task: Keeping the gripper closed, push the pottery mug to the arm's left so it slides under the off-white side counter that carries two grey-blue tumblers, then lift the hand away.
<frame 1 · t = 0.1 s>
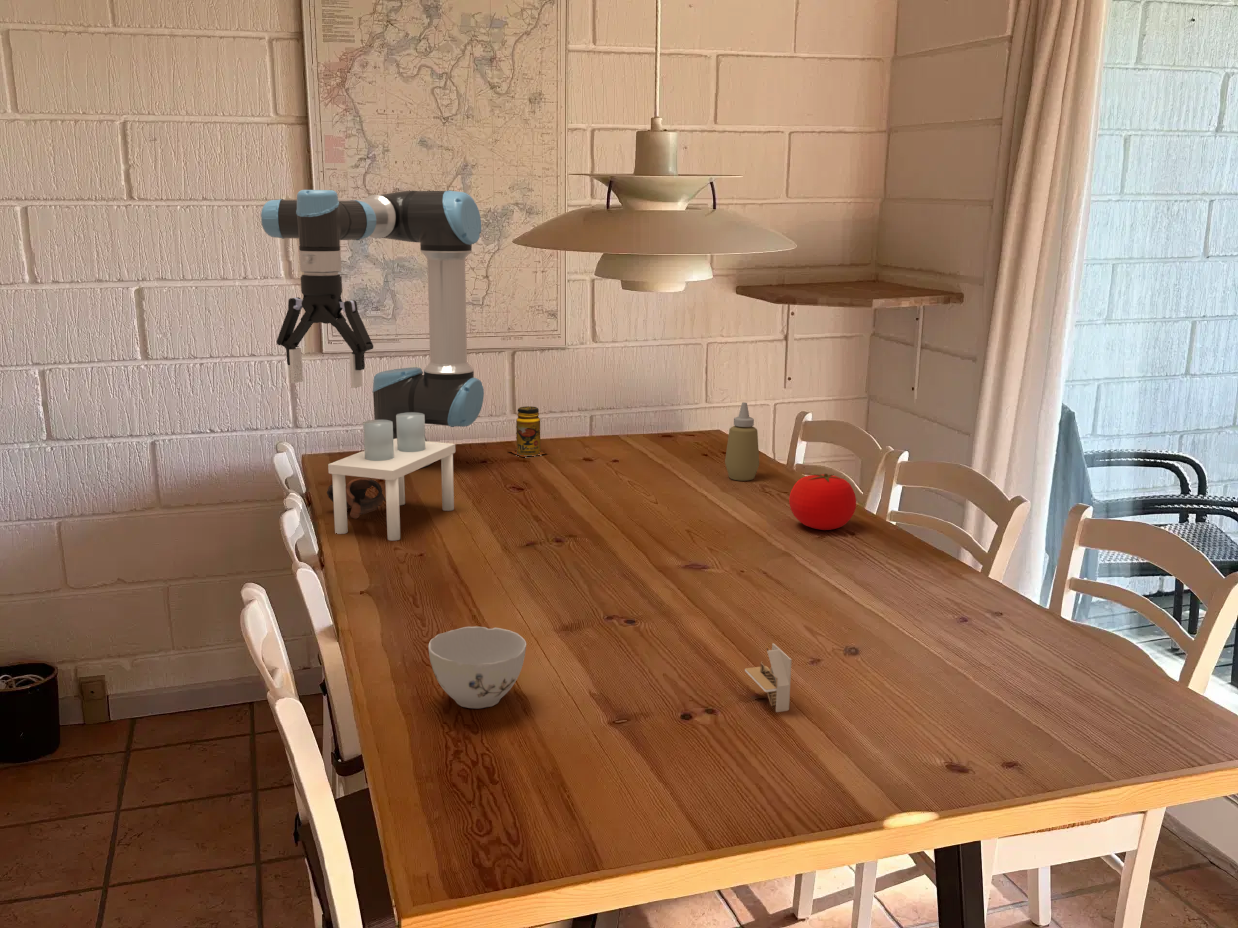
hand: (326, 384, 215), 28 cm above the table, tool pointing down, fingers open, 13 cm apart
tomato: (821, 528, 223), on the table
tumbler A: (411, 448, 225), point 14 cm above the table, touching side counter
pottery mug: (356, 513, 229), on the table
squeeze bottle: (741, 479, 261), on the table
side counter: (396, 520, 224), on the table
teacup: (477, 696, 146), on the table
tumbler B: (379, 457, 217), point 14 cm above the table, touching side counter
architectural model: (773, 706, 146), on the table
condiment: (527, 454, 284), on the table
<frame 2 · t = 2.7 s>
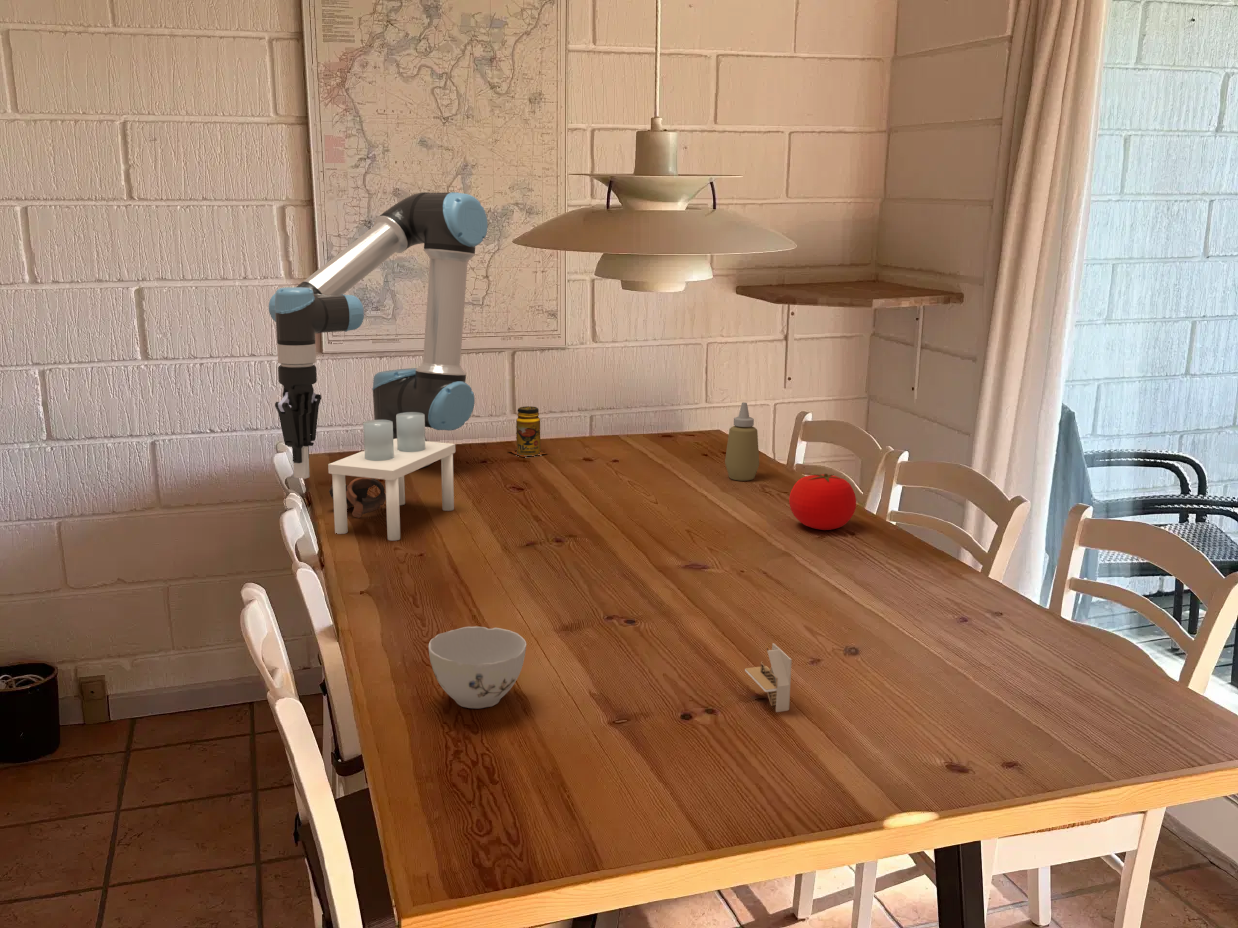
hand: (301, 477, 231), 6 cm above the table, tool pointing down, fingers closed
nothing on the table moved.
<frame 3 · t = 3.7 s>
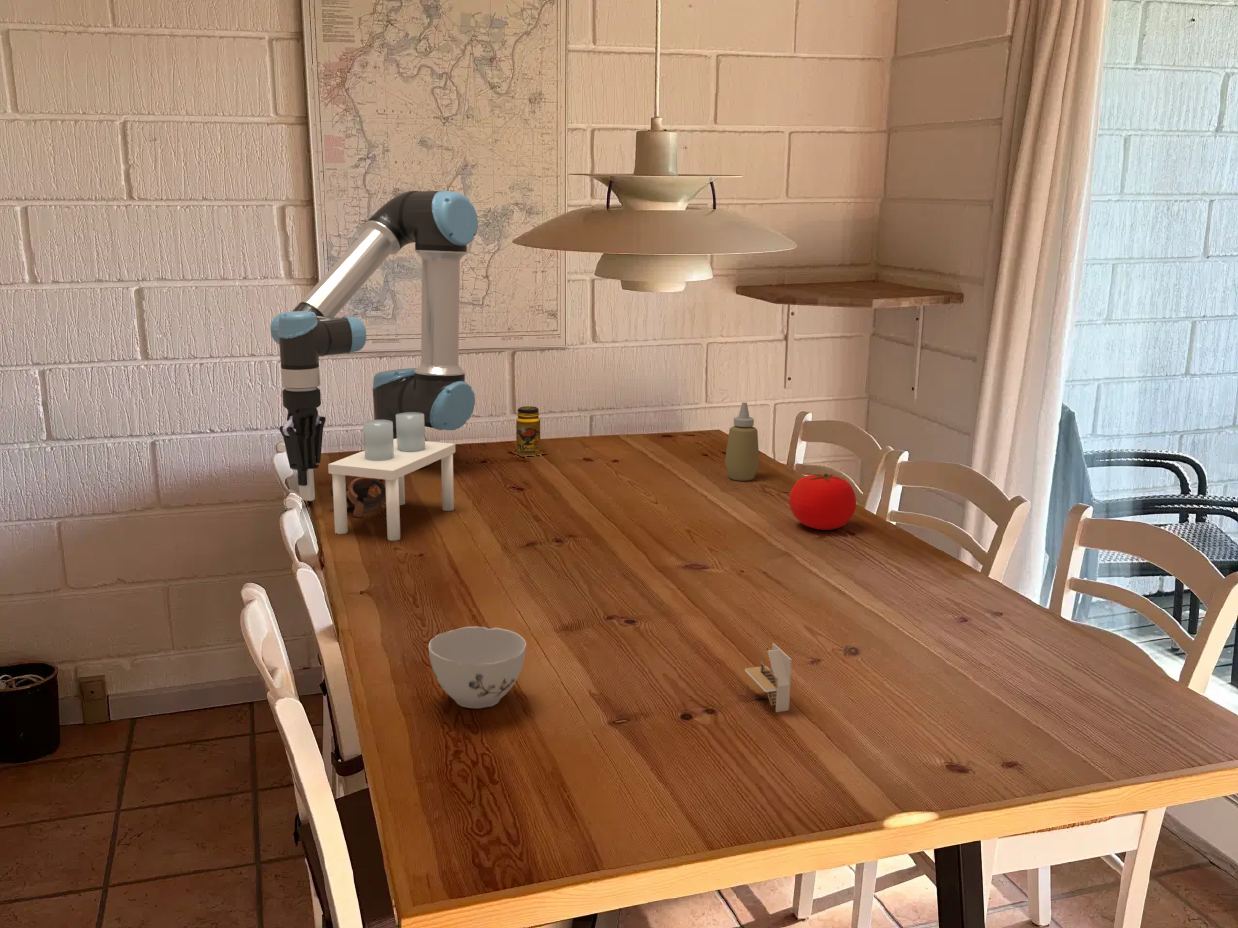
hand: (307, 499, 232), 2 cm above the table, tool pointing down, fingers closed
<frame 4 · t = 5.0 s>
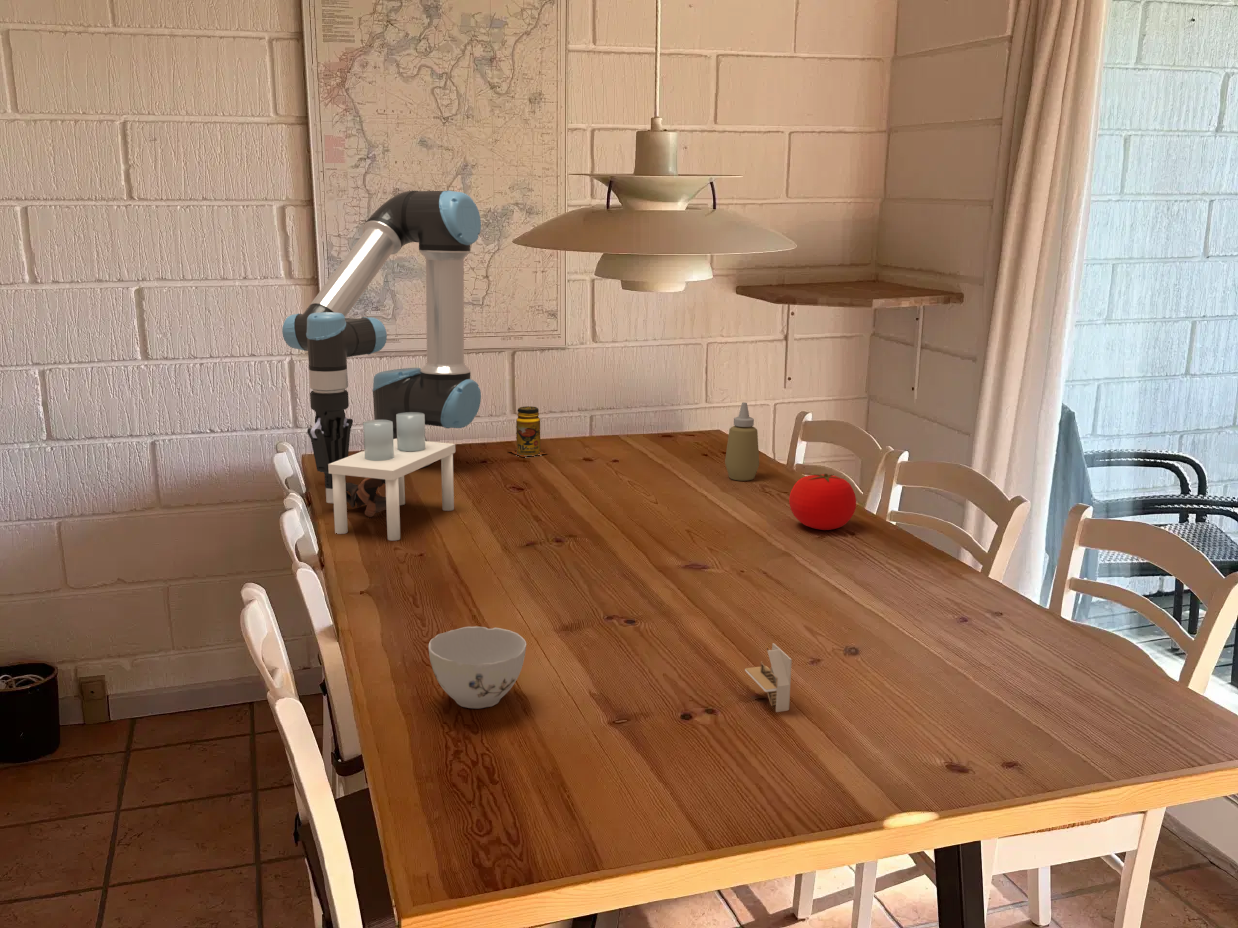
hand: (334, 502, 230), 2 cm above the table, tool pointing down, fingers closed
pottery mug: (369, 512, 230), on the table, touching gripper
everything else where it was.
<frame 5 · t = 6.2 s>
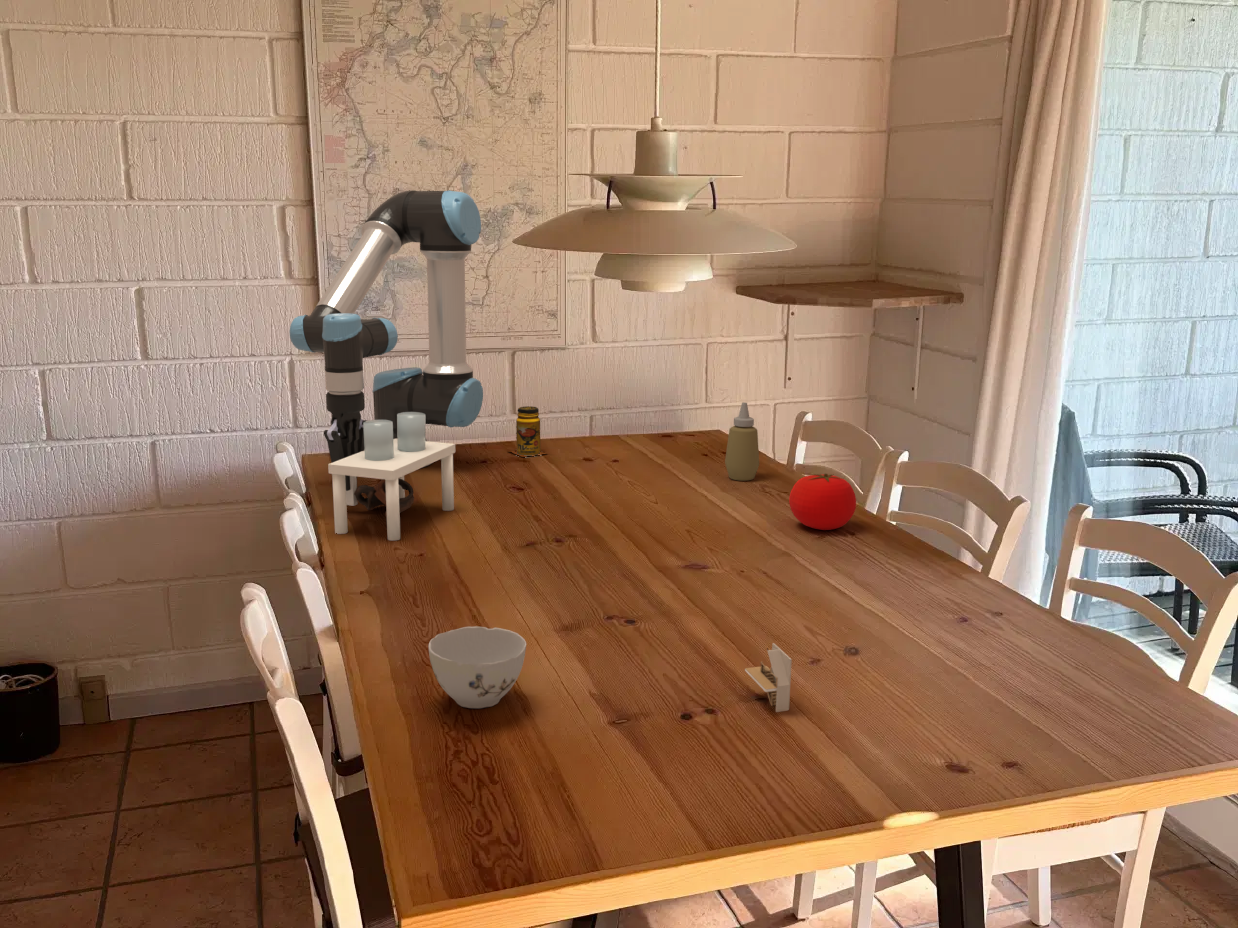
hand: (350, 504, 229), 2 cm above the table, tool pointing down, fingers closed
pottery mug: (385, 513, 230), on the table, touching gripper
everything else where it was.
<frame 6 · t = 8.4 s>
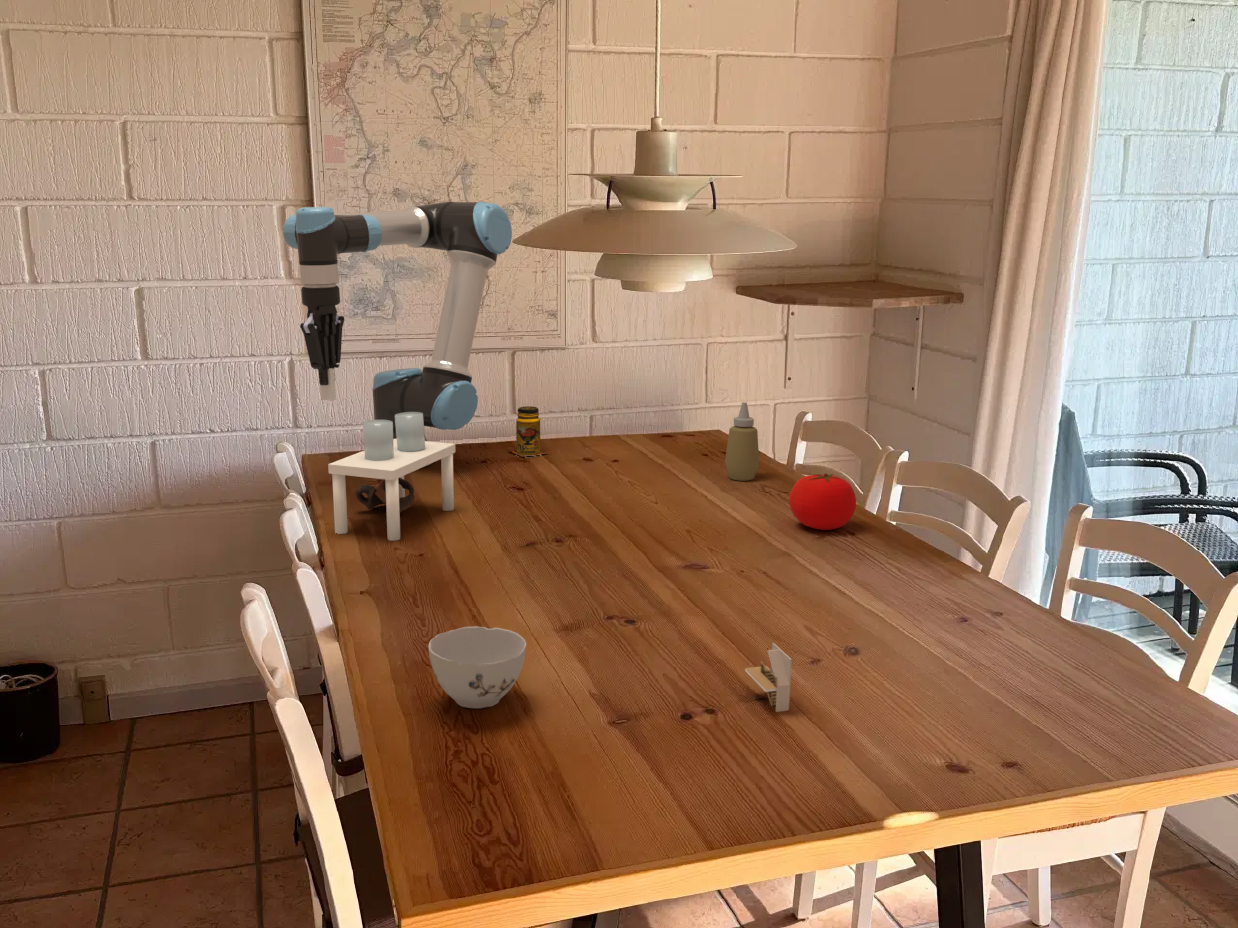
hand: (328, 399, 231), 22 cm above the table, tool pointing down, fingers closed
pottery mug: (385, 513, 230), on the table
everything else where it was.
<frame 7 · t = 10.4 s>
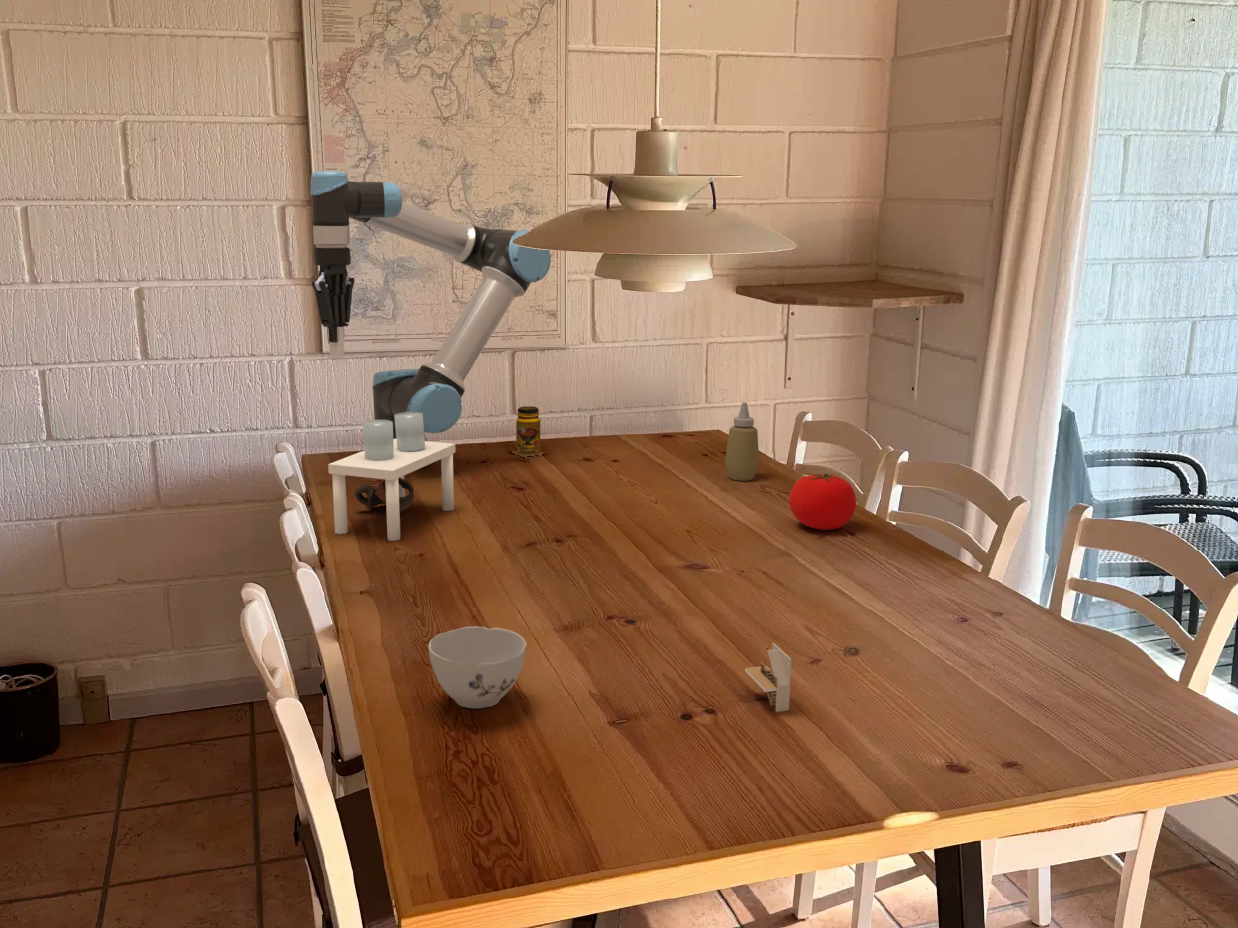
hand: (337, 356, 241), 29 cm above the table, tool pointing down, fingers closed
nothing on the table moved.
at the end: pottery mug inside the target area (6.9 cm from its centre), on the table; pottery mug tilted 0°; pottery mug moved 5.8 cm from its start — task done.
